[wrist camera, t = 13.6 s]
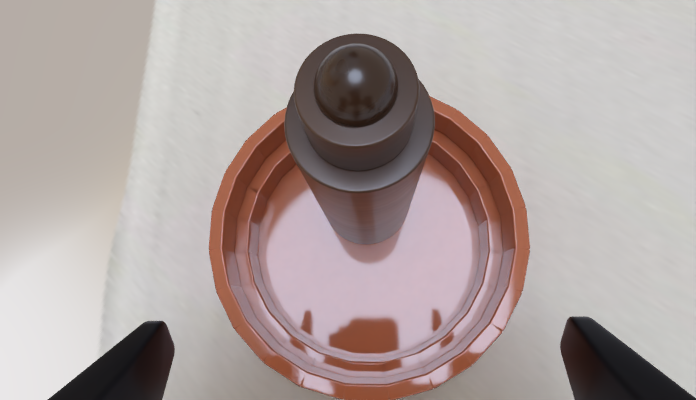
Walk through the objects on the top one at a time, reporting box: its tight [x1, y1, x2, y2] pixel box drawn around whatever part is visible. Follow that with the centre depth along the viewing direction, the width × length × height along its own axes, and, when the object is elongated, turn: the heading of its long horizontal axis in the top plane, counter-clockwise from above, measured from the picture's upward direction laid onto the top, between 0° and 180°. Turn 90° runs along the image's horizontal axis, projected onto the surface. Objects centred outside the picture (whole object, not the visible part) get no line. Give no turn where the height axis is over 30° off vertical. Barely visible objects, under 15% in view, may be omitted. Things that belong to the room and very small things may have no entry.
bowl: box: [209, 97, 530, 400], centre depth 20 cm, size 13×13×4 cm
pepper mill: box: [284, 34, 435, 244], centre depth 16 cm, size 4×4×13 cm
